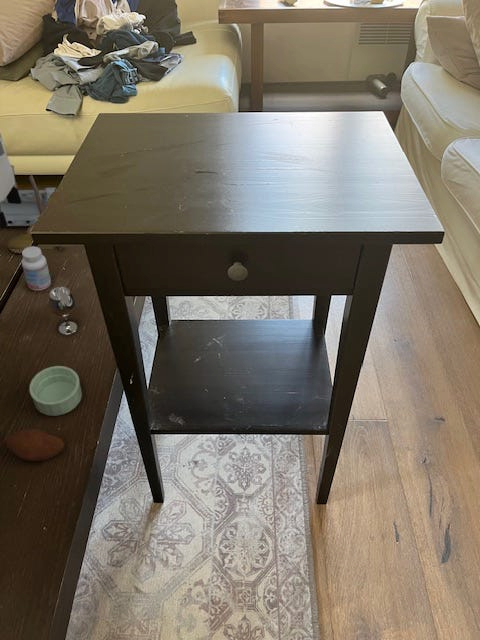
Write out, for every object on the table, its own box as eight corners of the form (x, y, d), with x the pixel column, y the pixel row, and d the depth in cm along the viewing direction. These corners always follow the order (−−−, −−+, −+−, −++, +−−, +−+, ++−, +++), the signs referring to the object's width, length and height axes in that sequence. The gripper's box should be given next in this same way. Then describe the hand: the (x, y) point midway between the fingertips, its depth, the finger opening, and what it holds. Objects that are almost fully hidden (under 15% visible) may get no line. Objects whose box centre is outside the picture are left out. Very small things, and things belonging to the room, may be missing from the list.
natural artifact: (68, 246, 148) (59, 251, 150) (33, 174, 144) (25, 180, 146) (59, 249, 144) (50, 253, 146) (23, 175, 141) (15, 181, 143)
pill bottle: (23, 284, 135) (13, 252, 127) (41, 273, 138) (33, 241, 130) (38, 294, 132) (29, 262, 124) (56, 283, 136) (48, 250, 128)
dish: (27, 415, 107) (22, 401, 103) (43, 377, 114) (38, 363, 111) (75, 419, 107) (71, 406, 104) (87, 381, 114) (84, 368, 111)
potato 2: (61, 467, 99) (55, 450, 95) (3, 464, 99) (-6, 447, 94) (69, 441, 104) (64, 423, 99) (14, 438, 103) (6, 420, 99)
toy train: (67, 191, 147) (72, 180, 160) (-33, 191, 141) (-19, 180, 154) (72, 227, 152) (76, 214, 165) (-25, 229, 146) (-13, 215, 159)
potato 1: (21, 255, 138) (-2, 247, 140) (37, 261, 146) (15, 254, 148) (29, 231, 139) (6, 224, 141) (45, 239, 146) (23, 232, 148)
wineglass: (64, 340, 122) (56, 305, 114) (51, 327, 125) (41, 292, 116) (84, 328, 126) (77, 294, 117) (71, 316, 128) (63, 281, 119)
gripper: (-16, 129, 114) (5, 193, 127) (-49, 167, 102) (-22, 234, 115) (16, 131, 114) (34, 195, 127) (-12, 169, 102) (11, 236, 115)
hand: (8, 214), depth 121 cm, fingers open, 9 cm apart
